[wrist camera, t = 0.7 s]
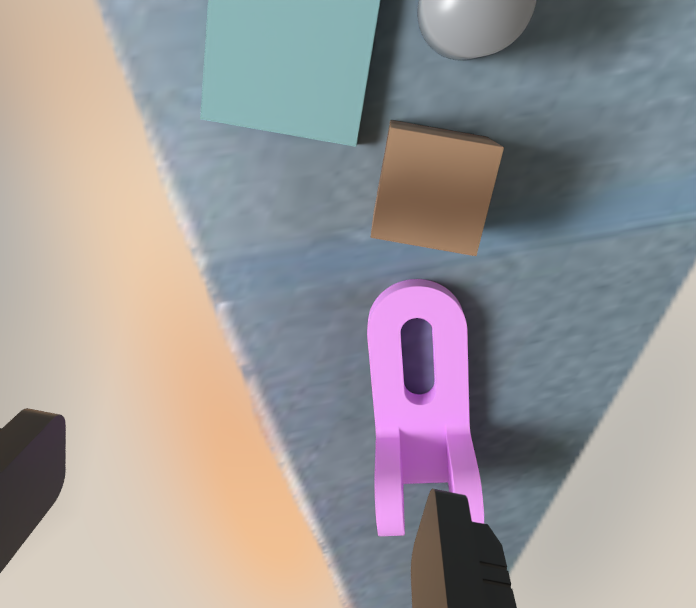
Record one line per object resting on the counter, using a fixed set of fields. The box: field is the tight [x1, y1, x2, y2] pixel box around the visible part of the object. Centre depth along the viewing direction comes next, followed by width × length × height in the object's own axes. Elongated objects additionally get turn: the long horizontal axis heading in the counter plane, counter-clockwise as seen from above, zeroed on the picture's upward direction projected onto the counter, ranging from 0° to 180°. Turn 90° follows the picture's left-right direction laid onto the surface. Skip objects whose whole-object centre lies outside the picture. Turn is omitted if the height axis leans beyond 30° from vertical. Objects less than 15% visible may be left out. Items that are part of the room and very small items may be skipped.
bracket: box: [367, 279, 484, 536], centre depth 32 cm, size 13×6×7 cm, turn 5°
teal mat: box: [200, 0, 381, 147], centre depth 28 cm, size 10×8×1 cm
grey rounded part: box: [418, 0, 537, 60], centre depth 26 cm, size 4×4×6 cm
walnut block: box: [371, 120, 504, 256], centre depth 29 cm, size 5×5×5 cm
